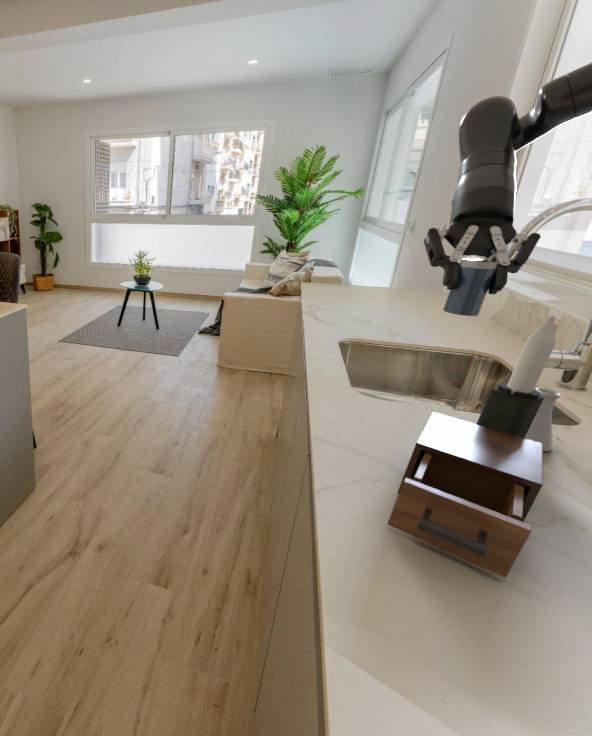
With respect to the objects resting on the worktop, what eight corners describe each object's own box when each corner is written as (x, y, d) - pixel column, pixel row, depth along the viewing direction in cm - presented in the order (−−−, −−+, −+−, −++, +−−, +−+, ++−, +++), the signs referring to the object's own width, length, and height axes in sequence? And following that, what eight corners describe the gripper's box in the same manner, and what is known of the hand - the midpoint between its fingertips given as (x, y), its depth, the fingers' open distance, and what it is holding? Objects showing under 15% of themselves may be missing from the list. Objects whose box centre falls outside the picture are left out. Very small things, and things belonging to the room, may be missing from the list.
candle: (459, 456, 72) (521, 312, 62) (476, 450, 74) (539, 310, 64) (495, 473, 67) (568, 322, 58) (512, 467, 69) (586, 319, 60)
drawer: (503, 601, 45) (531, 552, 42) (379, 541, 52) (395, 496, 49) (510, 523, 56) (533, 480, 53) (407, 482, 63) (422, 443, 60)
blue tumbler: (466, 309, 68) (485, 259, 65) (485, 316, 64) (506, 263, 61) (436, 308, 69) (453, 257, 66) (453, 315, 65) (472, 261, 62)
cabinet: (513, 540, 54) (542, 485, 51) (397, 492, 62) (416, 442, 59) (517, 492, 63) (542, 443, 60) (415, 456, 71) (432, 411, 68)
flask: (495, 426, 82) (516, 379, 78) (547, 439, 78) (572, 390, 74) (500, 442, 76) (524, 392, 72) (557, 457, 72) (584, 405, 69)
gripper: (436, 183, 69) (423, 268, 63) (556, 184, 62) (552, 279, 57) (420, 217, 75) (407, 297, 70) (528, 221, 69) (523, 309, 63)
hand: (473, 288), depth 63 cm, fingers closed on blue tumbler, 4 cm apart
